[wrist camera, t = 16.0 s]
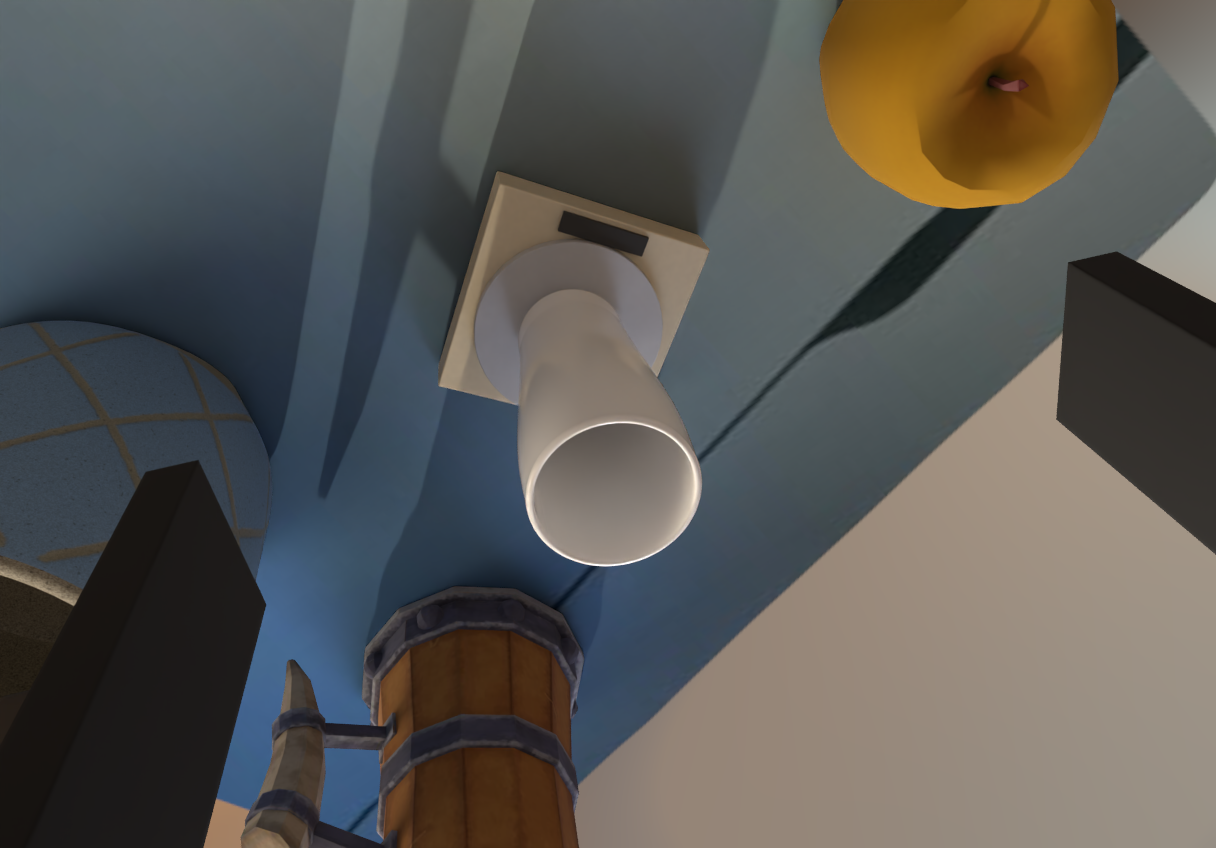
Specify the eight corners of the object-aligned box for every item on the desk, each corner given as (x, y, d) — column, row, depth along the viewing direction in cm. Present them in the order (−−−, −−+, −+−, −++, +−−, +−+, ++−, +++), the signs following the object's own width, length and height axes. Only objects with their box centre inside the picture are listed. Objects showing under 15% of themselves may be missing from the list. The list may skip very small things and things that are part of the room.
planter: (-127, 272, 44) (-494, 509, 27) (296, 323, 49) (213, 556, 31) (-74, 593, 53) (-327, 930, 36) (282, 613, 57) (210, 922, 40)
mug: (255, 713, 61) (178, 1038, 43) (321, 537, 55) (263, 829, 38) (534, 769, 67) (564, 1072, 49) (619, 615, 61) (686, 897, 44)
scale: (497, 170, 46) (500, 186, 44) (699, 234, 49) (713, 253, 47) (438, 365, 51) (437, 391, 48) (626, 413, 54) (636, 440, 51)
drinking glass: (493, 386, 48) (510, 563, 35) (513, 261, 45) (540, 404, 32) (620, 401, 50) (681, 576, 37) (648, 281, 47) (725, 425, 34)
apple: (1037, 26, 47) (1222, 64, 36) (886, 202, 50) (1012, 287, 39) (890, -132, 42) (1048, -145, 31) (735, 72, 46) (828, 126, 35)
